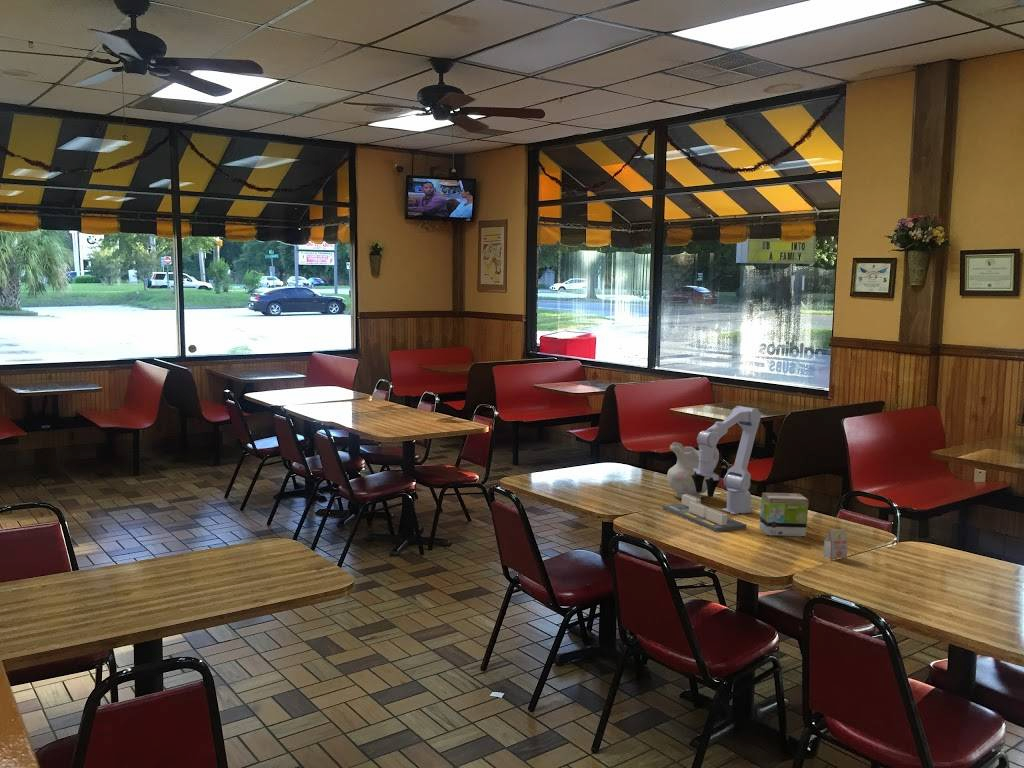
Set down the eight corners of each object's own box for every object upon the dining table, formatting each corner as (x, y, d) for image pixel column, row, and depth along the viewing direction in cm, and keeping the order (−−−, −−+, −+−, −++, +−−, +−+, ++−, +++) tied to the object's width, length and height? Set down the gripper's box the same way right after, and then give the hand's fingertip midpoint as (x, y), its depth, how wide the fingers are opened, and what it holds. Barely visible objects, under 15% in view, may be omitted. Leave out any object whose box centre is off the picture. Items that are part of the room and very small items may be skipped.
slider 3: (710, 518, 341) (711, 506, 340) (726, 524, 332) (727, 513, 331) (705, 518, 340) (706, 507, 339) (721, 525, 331) (722, 513, 330)
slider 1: (686, 503, 364) (686, 492, 363) (700, 509, 354) (701, 498, 354) (681, 504, 363) (682, 493, 362) (695, 509, 353) (696, 498, 353)
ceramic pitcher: (709, 495, 392) (710, 440, 392) (722, 502, 373) (723, 445, 372) (662, 494, 391) (663, 440, 390) (673, 502, 372) (674, 444, 371)
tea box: (767, 536, 324) (769, 498, 322) (758, 529, 334) (760, 491, 332) (806, 537, 324) (809, 498, 323) (797, 529, 334) (799, 492, 333)
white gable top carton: (823, 557, 300) (825, 529, 299) (839, 555, 302) (841, 528, 301) (830, 560, 297) (831, 532, 296) (846, 559, 299) (848, 530, 297)
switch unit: (691, 506, 367) (691, 502, 367) (746, 528, 334) (746, 523, 334) (662, 508, 361) (662, 504, 361) (715, 531, 328) (715, 527, 328)
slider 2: (693, 511, 351) (694, 500, 351) (708, 517, 342) (709, 506, 342) (688, 511, 350) (689, 500, 350) (703, 517, 341) (704, 506, 341)
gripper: (687, 458, 350) (685, 490, 351) (709, 465, 337) (707, 499, 338) (701, 457, 353) (700, 489, 354) (723, 464, 339) (722, 497, 341)
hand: (704, 494), depth 346 cm, fingers open, 7 cm apart
